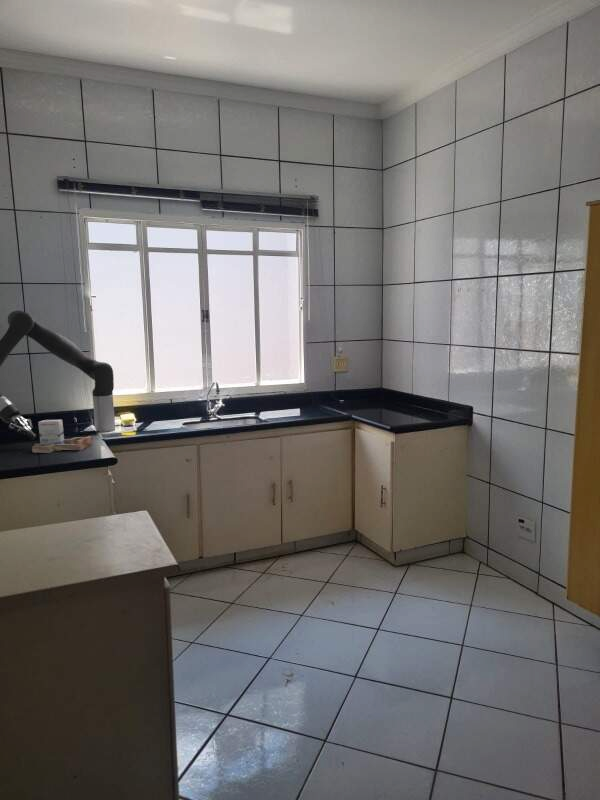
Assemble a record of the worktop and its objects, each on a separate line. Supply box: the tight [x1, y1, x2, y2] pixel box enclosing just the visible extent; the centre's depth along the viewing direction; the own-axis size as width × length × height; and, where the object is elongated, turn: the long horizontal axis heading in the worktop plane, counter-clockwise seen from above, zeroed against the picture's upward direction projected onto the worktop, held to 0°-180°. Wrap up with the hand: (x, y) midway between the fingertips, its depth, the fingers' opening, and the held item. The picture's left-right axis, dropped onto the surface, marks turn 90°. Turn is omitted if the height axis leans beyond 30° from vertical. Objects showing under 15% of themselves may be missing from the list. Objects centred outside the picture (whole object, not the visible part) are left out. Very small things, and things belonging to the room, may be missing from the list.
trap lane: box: [31, 435, 93, 454], centre depth 241 cm, size 19×20×4 cm
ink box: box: [37, 419, 65, 446], centre depth 241 cm, size 9×5×12 cm, turn 92°
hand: (34, 438), depth 243 cm, fingers closed
